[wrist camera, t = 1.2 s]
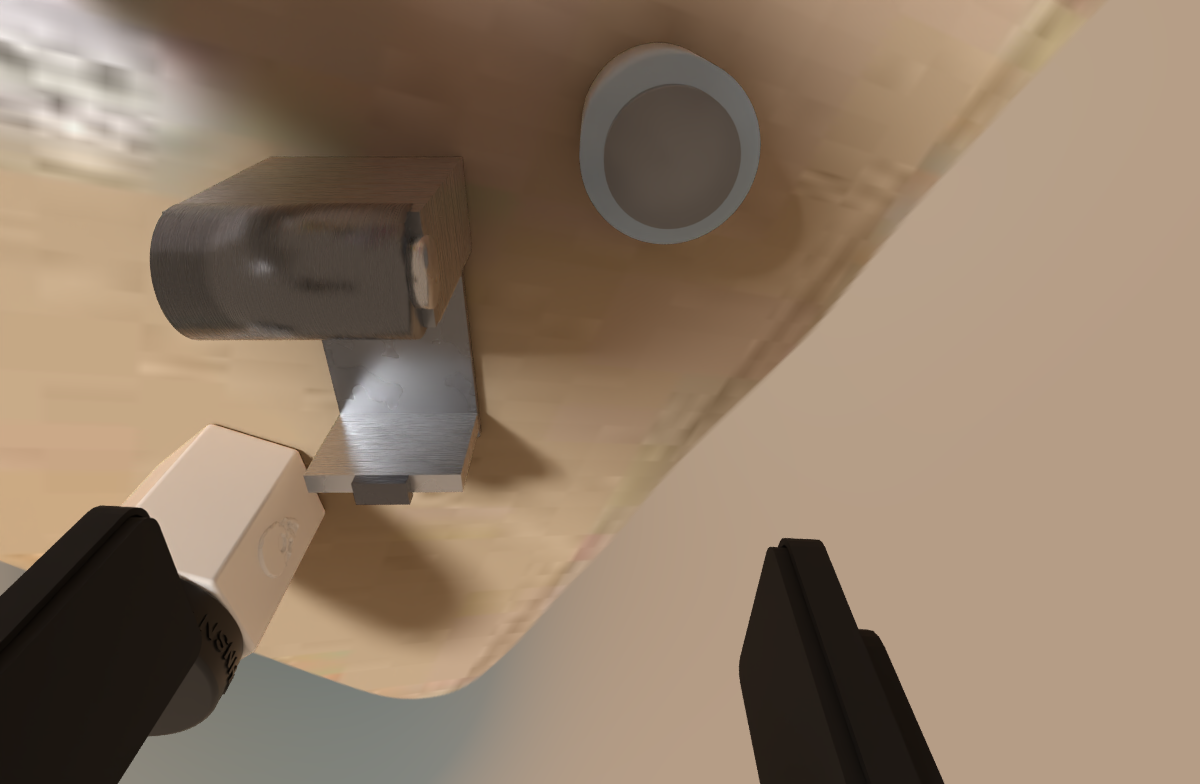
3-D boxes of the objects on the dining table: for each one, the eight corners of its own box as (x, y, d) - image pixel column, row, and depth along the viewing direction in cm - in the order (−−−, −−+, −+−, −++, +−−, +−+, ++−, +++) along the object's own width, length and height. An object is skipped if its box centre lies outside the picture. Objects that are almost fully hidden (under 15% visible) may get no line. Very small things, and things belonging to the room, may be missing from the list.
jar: (343, 538, 38) (253, 736, 28) (210, 551, 39) (74, 750, 29) (288, 413, 34) (156, 596, 23) (138, 429, 34) (-56, 615, 24)
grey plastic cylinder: (580, 42, 25) (577, 56, 19) (735, 42, 25) (779, 57, 19) (582, 199, 28) (580, 252, 22) (719, 198, 28) (753, 251, 22)
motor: (492, 431, 34) (460, 578, 26) (339, 432, 34) (254, 580, 26) (464, 152, 27) (404, 227, 18) (268, 151, 27) (115, 227, 18)
